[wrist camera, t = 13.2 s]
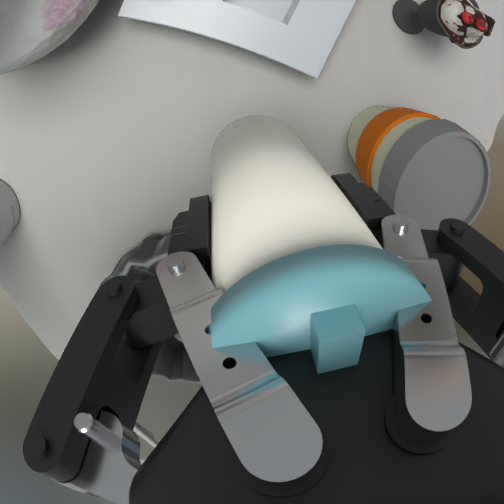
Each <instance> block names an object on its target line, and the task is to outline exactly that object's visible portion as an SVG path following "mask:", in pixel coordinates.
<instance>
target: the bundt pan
mask: <svg viewBox="0 0 504 504" xmlns="http://www.w3.org/2000/svg"><path fill="white" fill-rule="evenodd" d="M170 238H171V233H169V234H167V235H165V236H164V237H163V238H162V239H160V238H156V237H152V236H149V237H146V238H145V239H144V240H143V241H142V243H141V245H140V247H139V248H138V249H135V250H132V251H130V252H128V253H127V254H125V255H124V256H123V257H122V258H121V259H120V261H119V262H118V264H117V265H116V267H115V269H114V270H113V272H112V274H111V275H110V276H109V277H107V278H106V279H105V280H104V281H103V282H102V283H101V285H102V284H103V283H104V282H106V281H107V280H109V279H110V278H113V277H115V276H120V275H125V276H129V277H130V278H132V280H133V281H134V283H135V284H136V283H138V282H141V281H143V280H145V279H148V278H150V277H152V276H154V275H155V274H156V267H157V265H158V263H159V262H160V261H161V260H162V259H163V258H164V257H166V256H167V255H168V249H169V243H170ZM101 285H100V286H101ZM121 340H122V339H121ZM120 342H121V341H120ZM117 349H118V348H117ZM151 376H155V377H162V378H163V379H165V380H167V381H169V382H175V381H184V382H189V383H201V381H200V379H199V377H198V375H197V373H196V370H195V368H194V366H193V364H192V362H191V359H190V357H189V355H188V353H187V350H186V348H185V346H184V343H183V341H182V339H181V336H180V334H179V333H178V334H175V335H173V336H170V337H168V338H166V339H163V341H162V345H161V348H160V350H159V353H158V356H157V359H156V362H155V365H154V368H153V371H152V373H151Z"/></svg>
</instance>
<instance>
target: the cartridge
mask: <svg viewBox="0 0 504 504" xmlns="http://www.w3.org/2000/svg"><path fill="white" fill-rule="evenodd" d="M211 269H212V284H213V285H214V287H215V288H216V289H218V288H220V289H221V290H222V292H223V293H224V294H223V295H221V296H220V297H219V299H218V300H217V301H216V303H215V304H214V305H213V306H212V308H211V325H210V327H209V330H208V333H207V334H212V348H216V347H223V346H230V345H237V344H243V343H249V342H256V344H257V345H258V347H259V348H260V350H261V351H262V353H263V354H264V355H265V357H272V356H277V355H282V354H288V353H293V352H298V351H303V350H308V349H311V353H312V356H313V360H314V364H315V367H316V371H317V374H320V373H325V372H329V371H333V370H337V369H341V368H345V367H349V366H353V365H357V364H358V361H359V357H360V353H361V349H362V344H363V340H364V336H368V335H371V334H375V333H379V332H382V331H386V330H390V329H393V323H394V320H395V317H396V313H397V310H400V309H404V308H407V307H411V306H415V305H418V304H421V303H425V302H428V301H432V299H431V298H430V296H429V295H428V293H427V292H426V290H425V289H424V287H423V285H422V284H421V282H420V281H419V279H418V278H417V276H416V275H415V274H414V272H413V271H412V269H411V268H410V267H409V266H408V265H407V264H406V262H405V261H403V260H402V259H401V258H399V257H398V256H396V255H395V254H393V253H390V252H388V251H386V250H384V249H383V248H382V247H381V246H380V244H379V243H378V241H377V240H376V238H375V237H374V235H373V234H372V232H371V231H370V230H369V228H368V227H367V225H366V224H365V223H364V221H363V220H362V218H361V217H360V216H359V214H358V213H357V212H356V210H355V209H354V207H353V206H352V205H351V203H350V202H349V201H348V199H347V198H346V197H345V195H344V194H343V193H342V191H341V190H340V189H339V188H338V186H337V185H336V184H335V182H334V181H333V180H332V178H331V177H330V176H329V175H328V173H327V172H326V171H325V170H324V168H323V167H322V166H321V165H320V163H319V162H318V161H317V160H316V158H315V157H314V156H313V155H312V154H311V152H310V151H309V150H308V149H307V148H306V146H305V145H304V144H303V143H302V142H301V140H300V139H299V138H298V137H297V136H296V135H295V133H294V132H293V131H292V130H291V129H290V128H289V127H288V126H287V125H286V124H284V123H283V122H281V121H280V120H277V119H275V118H272V117H269V116H263V115H254V116H247V117H244V118H241V119H238V120H236V121H234V122H233V123H231V124H230V125H228V126H227V127H226V128H225V129H224V130H223V131H222V132H221V133H220V134H219V136H218V138H217V139H216V141H215V144H214V146H213V150H212V162H211Z"/></svg>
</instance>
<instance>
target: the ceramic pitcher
mask: <svg viewBox="0 0 504 504" xmlns="http://www.w3.org/2000/svg"><path fill="white" fill-rule="evenodd" d="M98 2H99V0H0V75H1V74H5V73H8V72H11V71H14V70H17V69H20V68H22V67H25V66H27V65H29V64H31V63H33V62H35V61H37V60H39V59H41V58H43V57H44V56H46V55H47V54H49V53H50V52H51V51H53V50H54V49H56V48H57V47H58V46H60V45H61V44H62V43H64V42H65V41H66V40H68V39H69V38H70V36H71V35H72V34H73V33H74V32H75V31H76V30H77V29H78V28H79V27H80V26H81V25H82V24H83V22H84V21H85V20H86V19H87V17H88V16H89V15H90V13H91V12H92V10H93V9H94V8H95V7H96V5H97V4H98Z"/></svg>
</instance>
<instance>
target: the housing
mask: <svg viewBox="0 0 504 504" xmlns="http://www.w3.org/2000/svg"><path fill="white" fill-rule="evenodd" d="M355 1H356V0H124V2H123V4H122V7H121V9H120V12H119V14H118V16H121V17H125V18H128V19H132V20H137V21H142V22H147V23H152V24H157V25H161V26H166V27H170V28H174V29H178V30H182V31H186V32H190V33H193V34H197V35H200V36H204V37H207V38H210V39H214V40H217V41H220V42H223V43H226V44H229V45H232V46H235V47H238V48H241V49H244V50H246V51H249V52H252V53H255V54H257V55H260V56H262V57H265V58H268V59H270V60H273V61H275V62H277V63H280V64H282V65H285V66H287V67H289V68H292V69H294V70H296V71H298V72H301V73H303V74H305V75H308V76H311V77H314V78H318V76H319V74H320V72H321V70H322V68H323V66H324V64H325V61H326V59H327V57H328V55H329V53H330V51H331V49H332V47H333V45H334V43H335V41H336V39H337V37H338V35H339V33H340V31H341V29H342V27H343V25H344V23H345V21H346V19H347V17H348V15H349V13H350V11H351V9H352V7H353V5H354V3H355Z"/></svg>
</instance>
